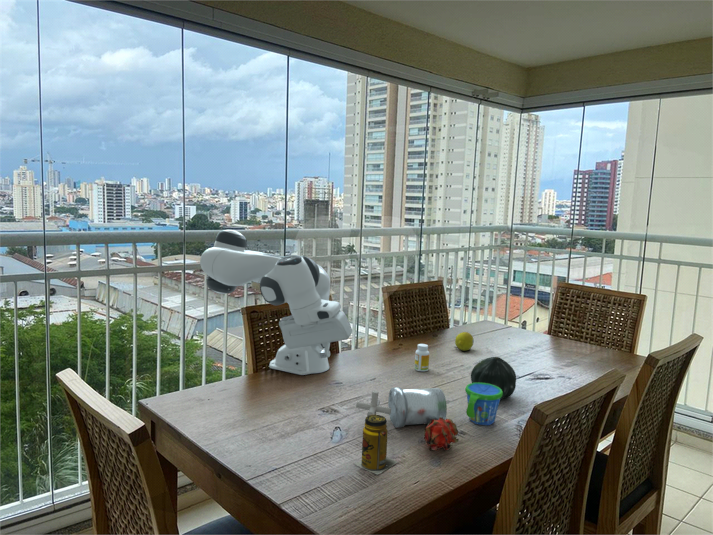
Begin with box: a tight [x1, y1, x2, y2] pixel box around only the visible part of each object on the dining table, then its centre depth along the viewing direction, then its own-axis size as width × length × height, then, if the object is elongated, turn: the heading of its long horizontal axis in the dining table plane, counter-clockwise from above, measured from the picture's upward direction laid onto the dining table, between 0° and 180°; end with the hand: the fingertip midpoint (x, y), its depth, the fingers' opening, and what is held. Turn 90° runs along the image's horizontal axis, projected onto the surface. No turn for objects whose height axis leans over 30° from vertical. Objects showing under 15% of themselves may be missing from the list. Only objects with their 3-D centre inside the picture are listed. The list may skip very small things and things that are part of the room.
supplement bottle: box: [414, 343, 430, 372], centre depth 202 cm, size 5×5×10 cm
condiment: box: [354, 414, 398, 476], centre depth 128 cm, size 7×8×12 cm
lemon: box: [454, 331, 474, 352], centre depth 232 cm, size 11×8×8 cm
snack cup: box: [465, 382, 503, 426], centre depth 157 cm, size 16×10×10 cm
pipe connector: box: [355, 389, 391, 417], centre depth 150 cm, size 10×10×10 cm
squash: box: [470, 356, 517, 401], centre depth 178 cm, size 14×15×15 cm
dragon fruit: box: [423, 417, 459, 452], centre depth 139 cm, size 8×8×12 cm
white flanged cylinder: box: [387, 387, 448, 429], centre depth 153 cm, size 14×13×11 cm
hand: (325, 356), depth 147 cm, fingers closed
